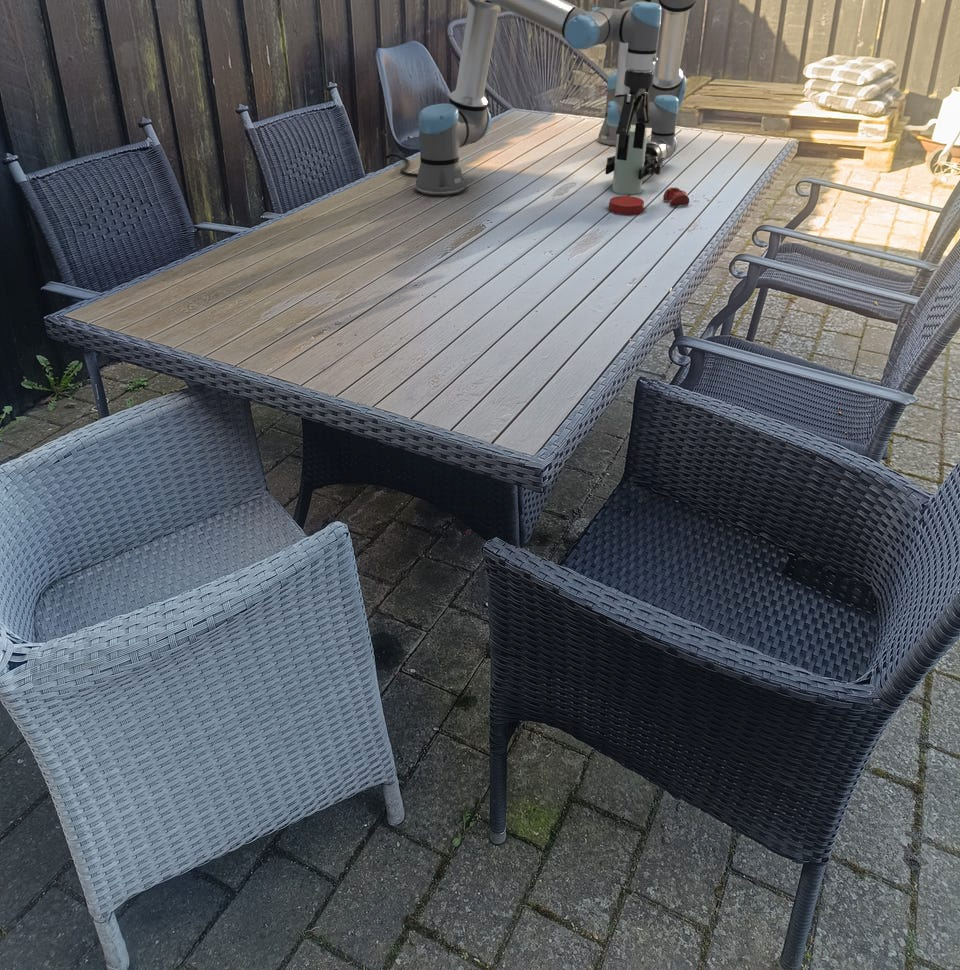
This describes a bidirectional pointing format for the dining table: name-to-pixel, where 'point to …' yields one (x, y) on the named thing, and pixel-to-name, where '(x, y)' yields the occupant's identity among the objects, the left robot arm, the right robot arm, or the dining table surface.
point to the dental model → (676, 197)
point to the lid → (626, 205)
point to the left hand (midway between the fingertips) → (629, 153)
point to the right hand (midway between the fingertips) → (623, 172)
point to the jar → (629, 167)
